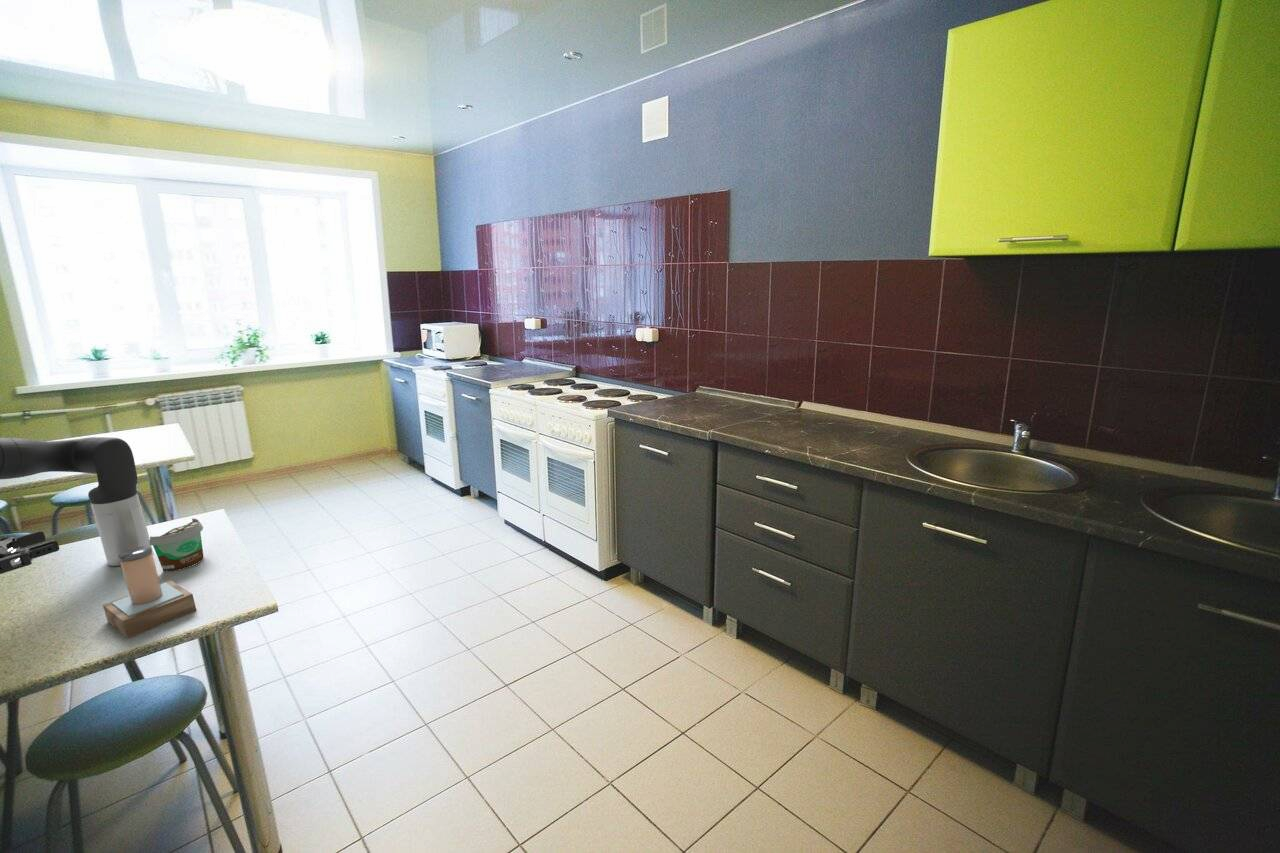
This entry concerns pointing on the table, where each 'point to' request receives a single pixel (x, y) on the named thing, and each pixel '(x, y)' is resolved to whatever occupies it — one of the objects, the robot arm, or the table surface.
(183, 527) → the food container
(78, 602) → the table surface
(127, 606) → the walnut riser
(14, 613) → the table surface
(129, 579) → the terracotta canister
